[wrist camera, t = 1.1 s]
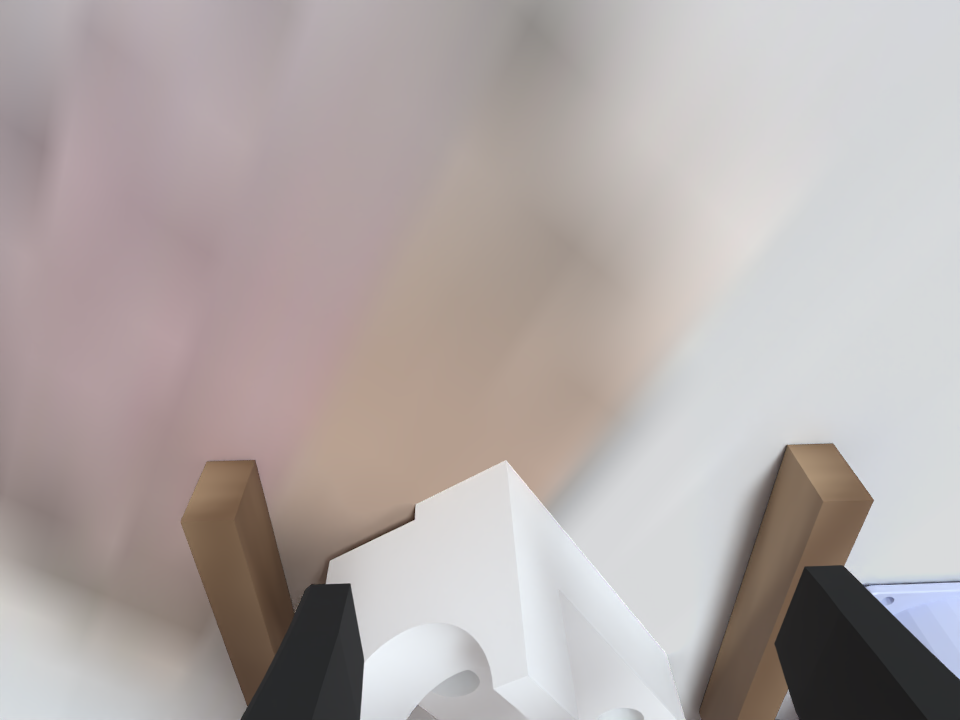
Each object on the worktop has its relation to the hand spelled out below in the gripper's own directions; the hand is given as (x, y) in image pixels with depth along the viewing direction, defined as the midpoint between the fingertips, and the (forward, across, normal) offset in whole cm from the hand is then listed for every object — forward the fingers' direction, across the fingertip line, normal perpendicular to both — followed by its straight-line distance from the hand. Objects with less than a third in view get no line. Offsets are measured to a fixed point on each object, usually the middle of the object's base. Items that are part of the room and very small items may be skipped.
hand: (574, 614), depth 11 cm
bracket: (+10, 0, +13) cm, 16 cm away
